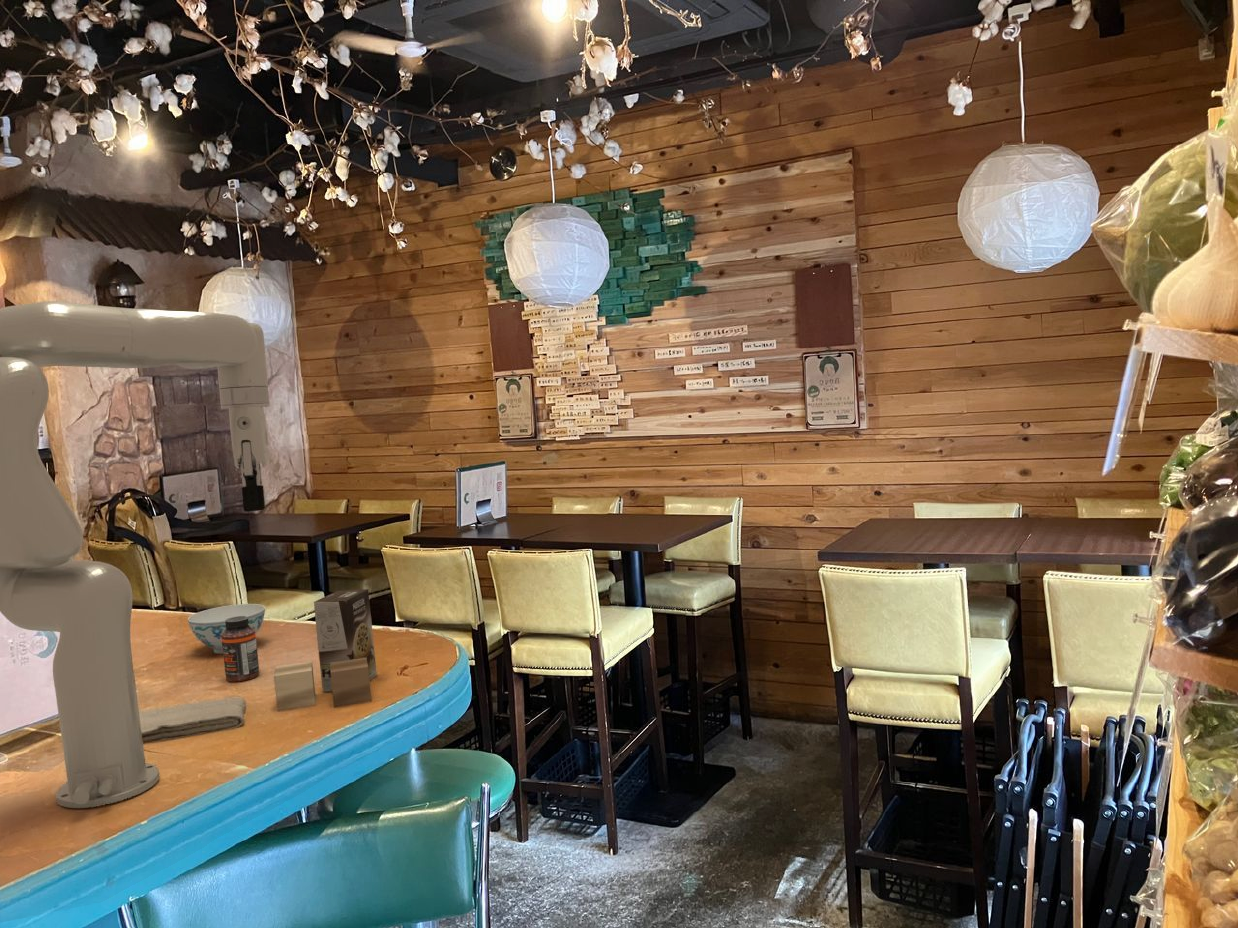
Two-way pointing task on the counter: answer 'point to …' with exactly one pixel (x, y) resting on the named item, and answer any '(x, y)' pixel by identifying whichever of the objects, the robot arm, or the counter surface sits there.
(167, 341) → the robot arm
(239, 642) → the supplement bottle
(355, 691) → the walnut cube
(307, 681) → the beech cube
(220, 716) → the washcloth
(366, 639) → the coffee box
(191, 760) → the counter surface
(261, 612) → the chinaware
